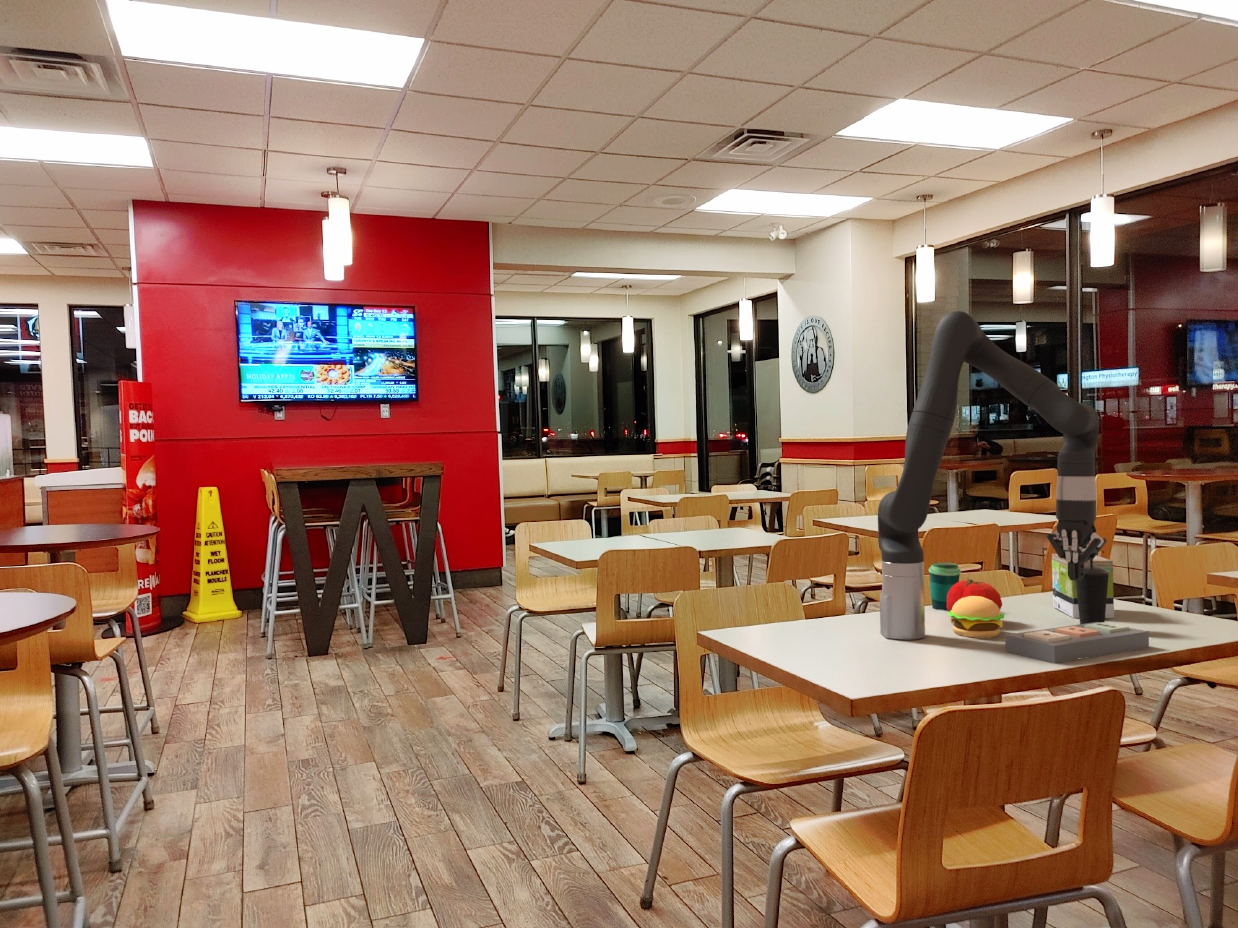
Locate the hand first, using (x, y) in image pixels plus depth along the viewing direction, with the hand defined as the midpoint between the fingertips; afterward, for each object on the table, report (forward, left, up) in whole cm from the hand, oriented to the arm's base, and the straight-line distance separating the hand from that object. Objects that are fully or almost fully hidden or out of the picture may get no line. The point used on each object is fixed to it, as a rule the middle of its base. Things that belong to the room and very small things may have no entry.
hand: (1075, 580), depth 185 cm
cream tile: (-8, -4, -13) cm, 15 cm away
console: (0, +1, -15) cm, 15 cm away
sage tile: (+8, +5, -13) cm, 16 cm away
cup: (-12, +49, -15) cm, 53 cm away
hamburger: (-15, +18, -15) cm, 27 cm away
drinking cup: (+13, +21, -15) cm, 29 cm away
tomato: (-11, +30, -15) cm, 36 cm away
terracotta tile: (0, 0, -13) cm, 13 cm away
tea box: (+20, +42, -15) cm, 49 cm away
